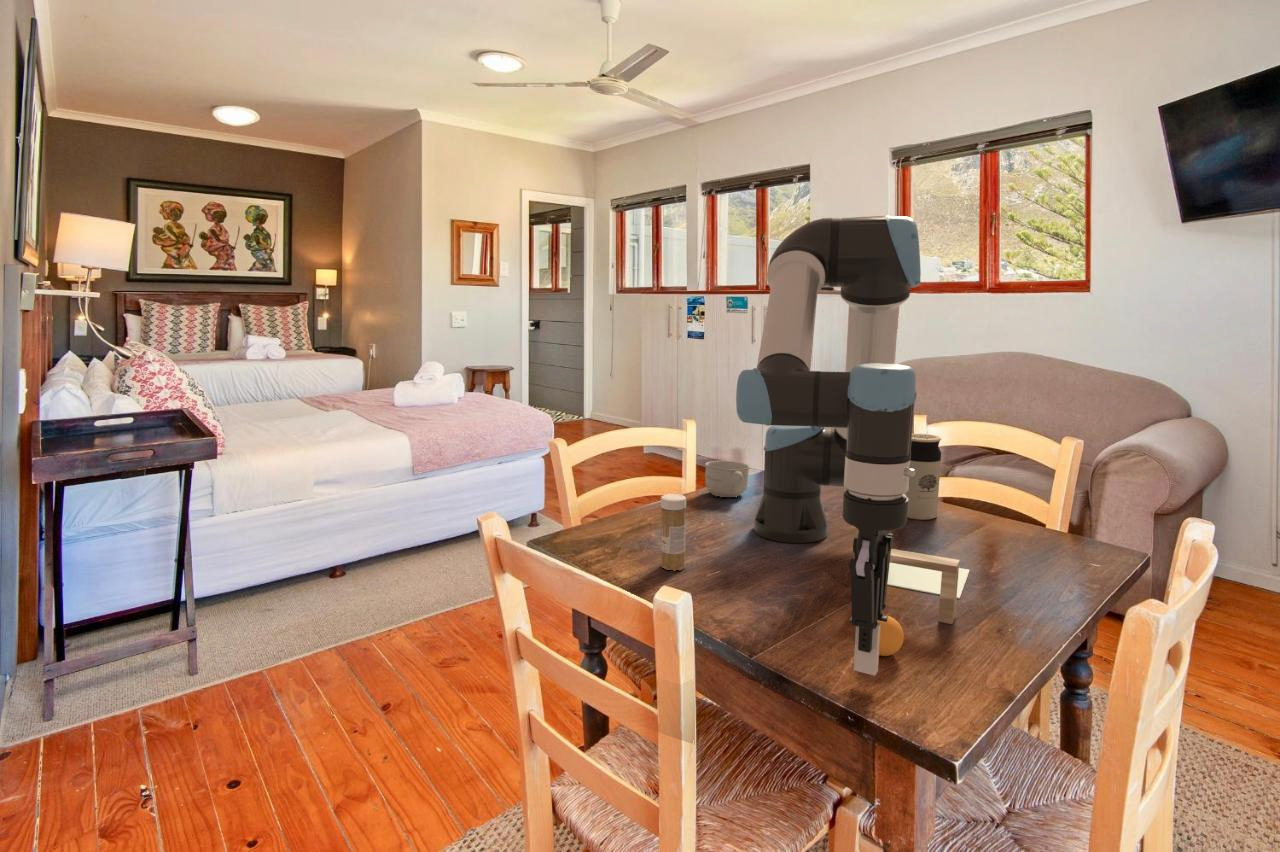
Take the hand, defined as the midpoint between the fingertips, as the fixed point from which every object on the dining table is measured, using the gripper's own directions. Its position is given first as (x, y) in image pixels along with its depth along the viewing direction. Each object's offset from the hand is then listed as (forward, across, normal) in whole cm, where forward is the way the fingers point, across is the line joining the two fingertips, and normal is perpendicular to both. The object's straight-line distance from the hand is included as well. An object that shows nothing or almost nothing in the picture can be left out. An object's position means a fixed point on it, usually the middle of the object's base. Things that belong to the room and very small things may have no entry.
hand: (865, 670), depth 92 cm
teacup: (+2, +71, +50) cm, 87 cm away
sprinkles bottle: (+2, +23, +40) cm, 46 cm away
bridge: (+2, +25, 0) cm, 25 cm away
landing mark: (+2, +41, 0) cm, 41 cm away
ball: (-1, +9, 0) cm, 9 cm away
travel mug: (+2, +78, +7) cm, 78 cm away
